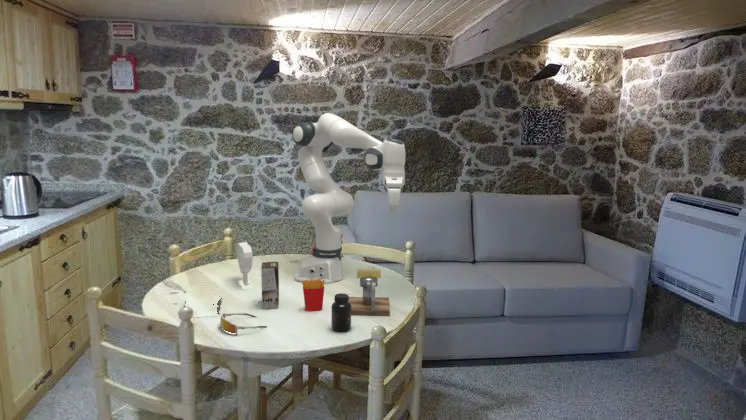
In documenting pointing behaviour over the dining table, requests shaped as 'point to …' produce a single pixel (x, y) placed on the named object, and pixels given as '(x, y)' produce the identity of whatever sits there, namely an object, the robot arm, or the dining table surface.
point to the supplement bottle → (341, 313)
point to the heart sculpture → (244, 260)
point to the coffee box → (270, 285)
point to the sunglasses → (233, 327)
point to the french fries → (313, 294)
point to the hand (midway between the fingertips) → (392, 214)
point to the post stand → (369, 304)
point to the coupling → (368, 277)
